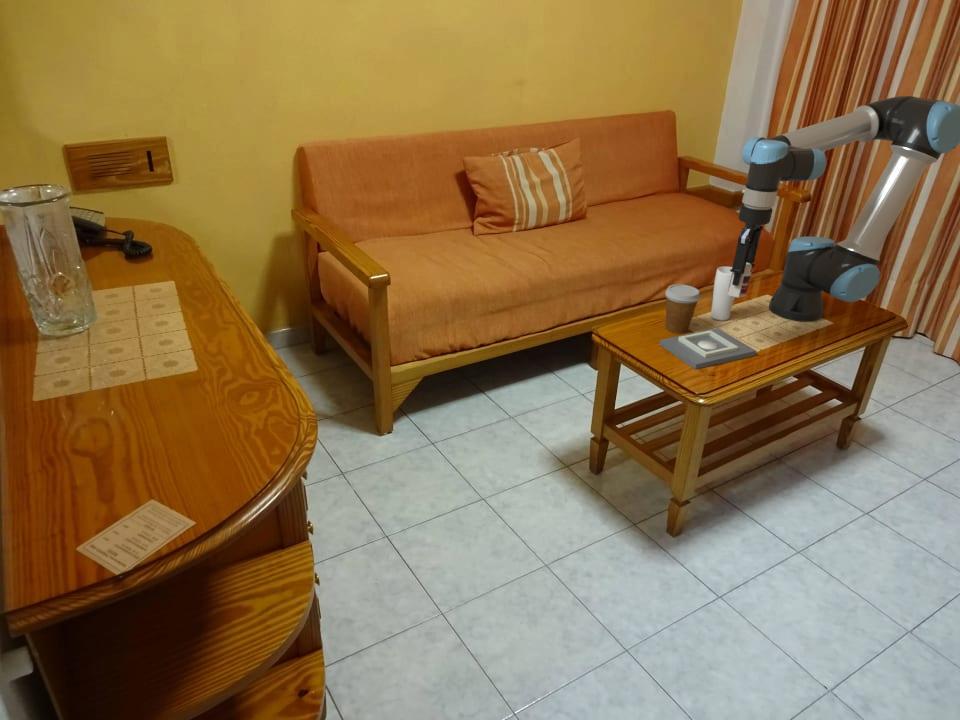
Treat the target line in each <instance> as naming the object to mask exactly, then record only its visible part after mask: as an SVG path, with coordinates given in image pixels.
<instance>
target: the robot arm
mask: <svg viewBox="0 0 960 720" xmlns="http://www.w3.org/2000/svg"><path fill="white" fill-rule="evenodd" d="M875 140H878V141H880V140H882V141H888V142H892V143H891V144H890V146H889V147H890V150H891V153H892V154H891V157H890V159H889V161H888V162H887V164H886V165H885V166H886V167H885V168H883V169H884V170H883V171H882V173H881V175H880V177H879V178H878V180H877V182H876V184H875V186H874V187H873V190H872V192H871V193H870V194H869V197H868V198H867V201H866V202H865V204H864V206H863V208H862V209H861V211H860V213H859V215H858V216H857V219H856V220H855V221H854V224H853V225H852V227H851V229H850V231H849V233H848V235H847V237H846V238H845V239H844V240H842V241H838V242H837V243H836V241H835V240H834V239H832V238H829V237H823V236H800V237H799V236H798V237H796V238H794V239H792V240H791V242H790V244H789V245H790V246H789V248H788V250H787V255H786V259H785V264H784V269H783V272H782V278H781V279H780V280H781V281H780V284H779V285H778V287H777V289H776V290H775V292H774V293H773V295H772V297H771V298H770V301H769V305H768V309H769V311H771V312H772V313H773V314H774V315H777V316H778V317H781V318H785V319H787V320H792V321H798V322H814V321H818V320H820V319H821V318H822V316H823V314H824V313H823V312H824V310H825V309H824V304H823V292H824V293H826V294H829V295H830V296H832V297H833V298H835V299H838V300H841V301H844V302H845V303H846V302H847V303H853V302H858V301H860V300H861V299H865V298H866V297H867V296H869V295H870V294H871V293H872V292H873V290H874V289H875V288H876V287H877V285H878V284H879V282H880V274H881V272H880V271H881V270H880V269H879V268H878V266H877V265H878V264H879V263H880V260H881V259H880V256H879V250H880V249H881V247H882V244H883V243H884V241H885V240H886V238H887V236H888V235H889V233H890V231H891V230H892V228H893V226H894V224H895V222H896V220H897V219H898V217H899V215H900V214H901V212H902V210H903V208H904V207H905V205H906V203H907V201H908V200H909V198H910V196H911V194H912V193H913V191H914V189H915V188H916V186H917V184H918V182H919V180H920V178H921V177H922V175H923V173H924V172H925V170H926V168H927V167H928V166H929V165H932V164H934V163H936V162H938V161H939V158H940V157H941V155H942V154H947V153H950V152H952V151H953V150H955V148H957V147H958V146H959V144H960V105H959V104H956V103H953V102H949V101H947V100H946V101H945V100H940V99H939V100H937V99H931V98H924V97H916V96H911V95H899V96H894V97H893V96H892V97H888V98H885V99H880V100H876V101H873V102H870V103H866V104H863V105H859V106H858V107H856V108H855V109H854V110H853V112H850V113H847V114H843V115H841V116H838V117H834V118H831V119H828V120H825V121H821V122H819V123H815V124H812V125H809V126H805V127H803V128H798V129H796V130H791V131H790V132H789V131H788V132H786V133H783V134H779V135H775V136H772V137H770V138H769V137H768V138H766V137H764V136H761V137H760V136H755V137H752V138H749V139H748V140H747V141H746V142H745V144H744V146H743V147H742V151H741V152H742V153H741V158H742V160H743V162H744V163H745V164H746V165H748V166H749V168H748V173H747V177H746V182H745V187H744V189H742V191H741V193H742V194H743V195H742V200H741V202H742V203H743V204H741V205H740V208H739V212H738V220H739V221H740V222H743V223H744V227H742V228H741V232H740V234H739V235H738V236H737V237H738V238H737V244H736V249H735V254H734V259H733V263H732V266H731V267H732V269H730V272H733V275H732V280H731V284H730V288H729V293H728V295H730V296H733V297H735V298H738V299H739V298H740V297H739V296H740V291H741V287H742V283H743V279H744V275H745V273H744V270H745V266H746V263H750V264H751V265H752V268H755V265H756V264H755V259H756V254H757V251H758V248H759V246H758V245H759V242H760V238H761V233H762V231H763V229H764V227H763V225H764V226H765V225H768V224H769V223H771V218H772V214H773V211H774V210H773V207H774V206H775V203H776V199H777V196H778V195H777V194H778V190H779V186H780V184H781V183H780V182H798V181H799V182H802V181H803V182H808V181H814V180H817V179H819V178H820V177H821V176H822V175H823V174H824V172H825V170H826V167H827V156H826V154H825V151H830V150H832V149H834V148H835V149H836V148H839V147H841V146H845V145H848V144H851V143H854V142H857V141H859V142H862V143H866V142H870V141H875Z"/></svg>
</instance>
